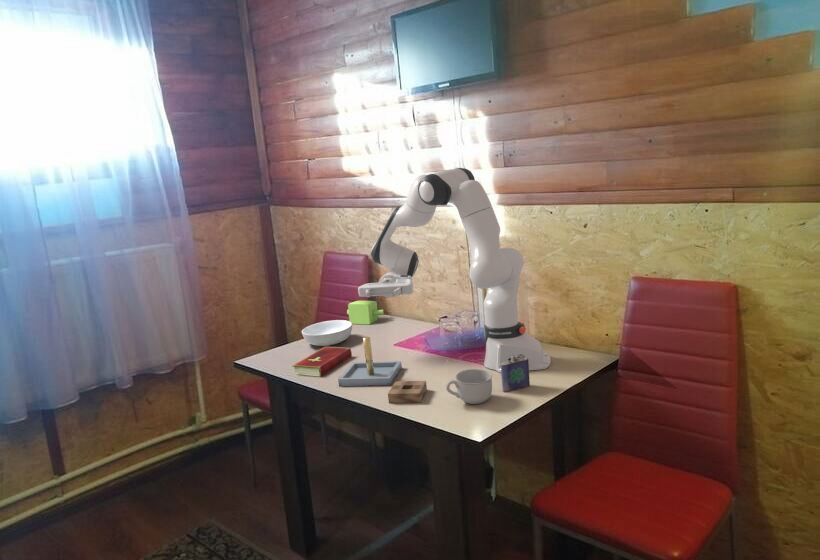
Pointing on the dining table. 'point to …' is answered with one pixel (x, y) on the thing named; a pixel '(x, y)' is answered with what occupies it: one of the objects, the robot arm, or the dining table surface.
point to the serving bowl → (327, 332)
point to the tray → (359, 376)
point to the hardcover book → (322, 361)
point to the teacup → (472, 385)
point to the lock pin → (368, 356)
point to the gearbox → (363, 312)
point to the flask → (515, 374)
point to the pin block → (407, 392)
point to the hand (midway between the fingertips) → (380, 294)
